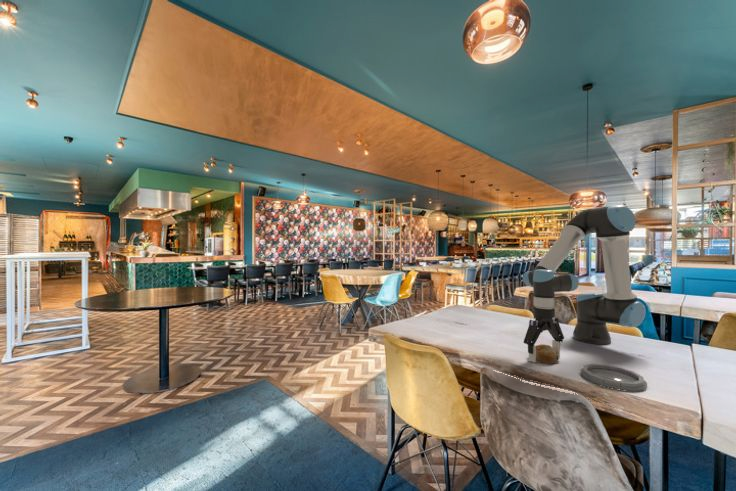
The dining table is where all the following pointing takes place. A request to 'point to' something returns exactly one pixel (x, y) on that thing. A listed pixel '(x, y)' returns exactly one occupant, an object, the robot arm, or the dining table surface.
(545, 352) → the bread roll
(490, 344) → the dining table surface
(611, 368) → the slate plate
